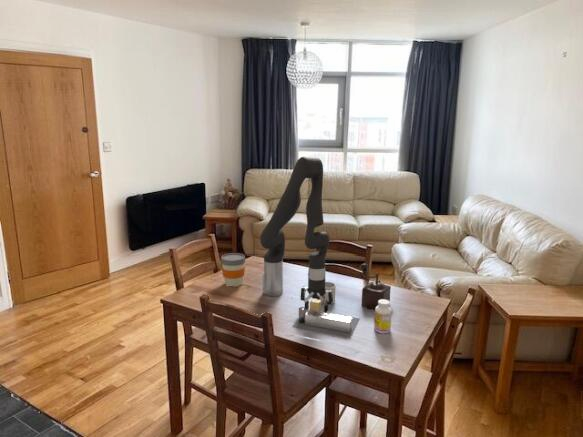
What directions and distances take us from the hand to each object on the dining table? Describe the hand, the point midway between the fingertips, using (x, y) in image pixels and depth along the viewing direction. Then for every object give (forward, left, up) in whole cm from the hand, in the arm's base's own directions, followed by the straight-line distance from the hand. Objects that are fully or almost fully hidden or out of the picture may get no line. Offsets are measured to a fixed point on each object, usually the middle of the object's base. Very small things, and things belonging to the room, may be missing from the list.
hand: (316, 310), depth 189 cm
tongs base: (+6, -10, -2) cm, 11 cm away
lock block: (0, 0, -2) cm, 2 cm away
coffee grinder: (+21, +20, -2) cm, 29 cm away
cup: (0, +15, -2) cm, 16 cm away
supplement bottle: (+30, -3, -2) cm, 30 cm away
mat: (+7, -6, -2) cm, 9 cm away
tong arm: (+8, -8, -1) cm, 11 cm away
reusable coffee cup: (-51, +18, -2) cm, 55 cm away
